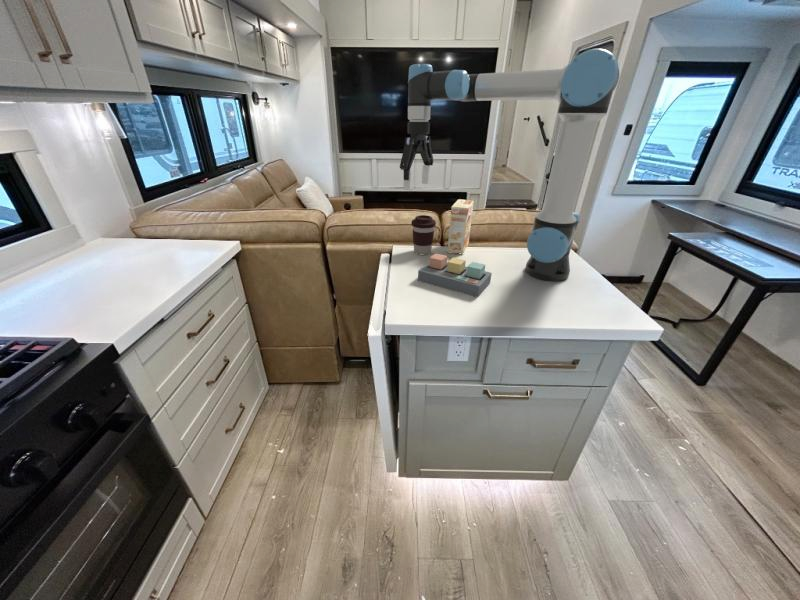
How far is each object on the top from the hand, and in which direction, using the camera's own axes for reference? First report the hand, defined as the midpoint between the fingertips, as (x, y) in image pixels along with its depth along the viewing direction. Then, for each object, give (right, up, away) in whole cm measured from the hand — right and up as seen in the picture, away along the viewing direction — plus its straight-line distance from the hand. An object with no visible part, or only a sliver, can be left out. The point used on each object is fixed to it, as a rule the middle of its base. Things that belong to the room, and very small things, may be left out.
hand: (416, 186), depth 119 cm
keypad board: (+13, -36, -6) cm, 38 cm away
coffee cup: (+3, -22, +19) cm, 29 cm away
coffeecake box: (+20, -19, +23) cm, 36 cm away
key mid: (+13, -32, -7) cm, 35 cm away
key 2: (+19, -34, -10) cm, 40 cm away
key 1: (+7, -30, -4) cm, 31 cm away
